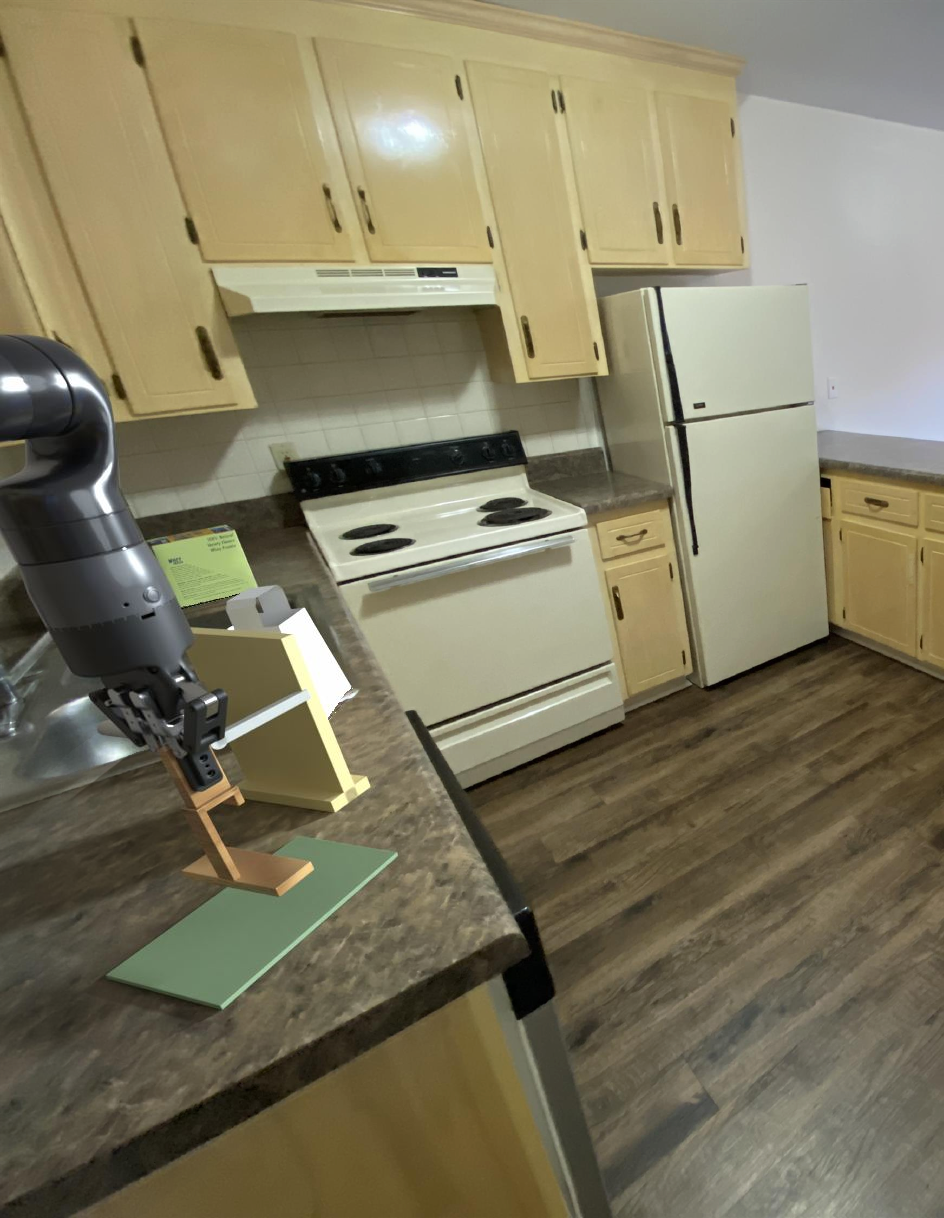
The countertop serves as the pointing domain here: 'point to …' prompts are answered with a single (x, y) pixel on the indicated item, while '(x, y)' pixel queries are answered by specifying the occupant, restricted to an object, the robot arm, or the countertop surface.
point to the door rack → (271, 719)
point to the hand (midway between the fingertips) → (202, 784)
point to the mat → (250, 927)
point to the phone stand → (228, 862)
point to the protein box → (203, 564)
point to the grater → (300, 624)
